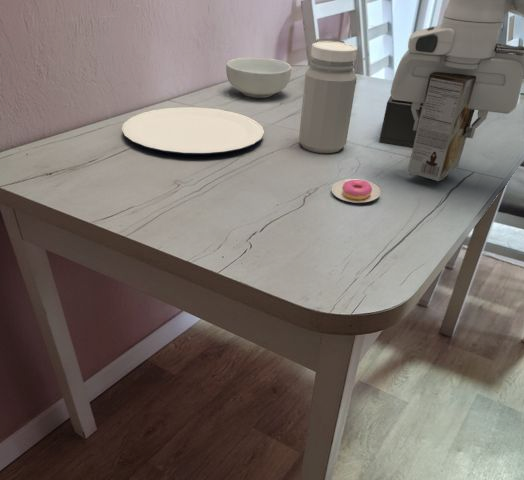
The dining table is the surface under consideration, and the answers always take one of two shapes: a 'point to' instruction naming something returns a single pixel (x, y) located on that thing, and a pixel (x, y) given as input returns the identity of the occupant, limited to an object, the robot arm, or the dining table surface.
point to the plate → (193, 130)
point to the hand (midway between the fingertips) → (442, 133)
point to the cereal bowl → (258, 76)
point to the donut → (356, 190)
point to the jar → (328, 97)
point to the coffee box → (442, 125)
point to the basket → (399, 123)
